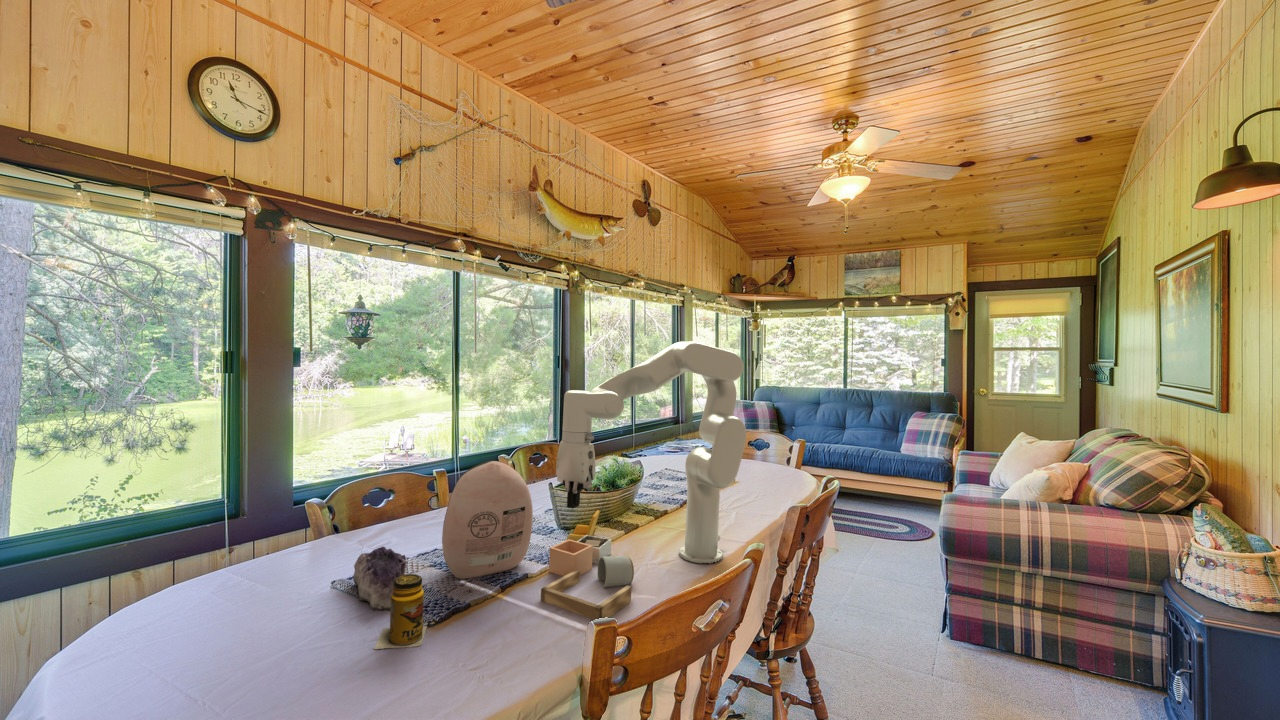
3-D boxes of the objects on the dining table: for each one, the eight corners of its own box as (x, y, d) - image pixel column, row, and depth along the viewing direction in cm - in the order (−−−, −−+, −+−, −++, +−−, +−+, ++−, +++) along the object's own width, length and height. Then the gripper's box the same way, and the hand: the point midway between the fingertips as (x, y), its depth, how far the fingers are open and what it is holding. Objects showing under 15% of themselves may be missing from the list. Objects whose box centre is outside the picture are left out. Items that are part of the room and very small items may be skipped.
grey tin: (585, 551, 155) (586, 534, 155) (610, 556, 152) (611, 539, 152) (572, 561, 148) (573, 543, 148) (598, 566, 145) (599, 548, 145)
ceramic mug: (635, 589, 132) (636, 559, 132) (605, 593, 129) (606, 562, 129) (620, 573, 142) (621, 545, 142) (592, 577, 139) (593, 548, 139)
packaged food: (514, 553, 152) (518, 448, 151) (541, 579, 135) (546, 462, 135) (434, 568, 140) (438, 454, 139) (453, 599, 123) (457, 470, 123)
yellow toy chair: (570, 534, 170) (572, 505, 170) (600, 537, 168) (601, 508, 168) (561, 546, 159) (562, 515, 159) (592, 549, 158) (593, 518, 158)
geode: (421, 604, 121) (417, 562, 120) (365, 623, 114) (359, 580, 113) (402, 568, 138) (398, 531, 136) (352, 583, 131) (348, 545, 130)
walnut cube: (586, 553, 152) (587, 539, 152) (600, 554, 152) (600, 541, 152) (583, 559, 148) (584, 544, 148) (597, 560, 148) (598, 546, 148)
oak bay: (575, 583, 134) (576, 569, 134) (631, 601, 126) (631, 586, 126) (540, 603, 123) (541, 588, 123) (598, 624, 115) (599, 608, 114)
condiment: (421, 646, 104) (423, 585, 104) (373, 650, 102) (375, 587, 102) (427, 627, 111) (429, 569, 111) (383, 630, 109) (385, 572, 109)
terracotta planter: (567, 564, 146) (568, 539, 145) (591, 571, 142) (592, 545, 141) (548, 574, 139) (549, 547, 139) (573, 582, 135) (574, 555, 134)
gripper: (608, 439, 139) (604, 509, 140) (563, 432, 147) (560, 498, 147) (591, 442, 133) (587, 516, 133) (545, 435, 141) (541, 504, 141)
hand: (573, 506), depth 140 cm, fingers closed
